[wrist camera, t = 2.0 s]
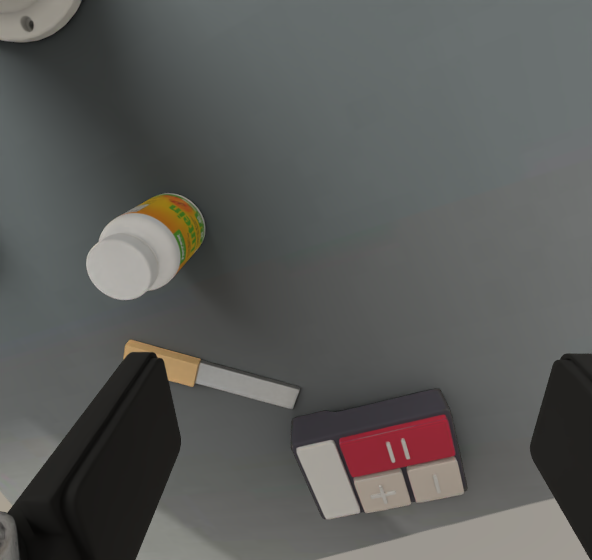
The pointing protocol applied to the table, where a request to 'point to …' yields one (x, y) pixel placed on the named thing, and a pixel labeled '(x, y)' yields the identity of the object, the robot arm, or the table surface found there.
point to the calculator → (379, 455)
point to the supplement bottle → (146, 246)
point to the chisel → (219, 376)
